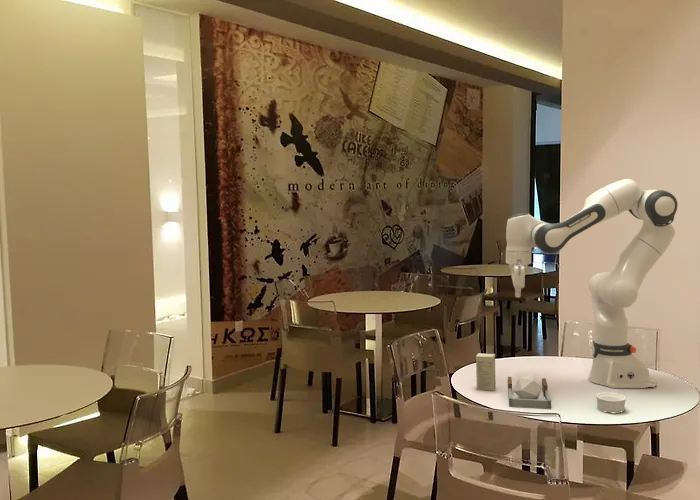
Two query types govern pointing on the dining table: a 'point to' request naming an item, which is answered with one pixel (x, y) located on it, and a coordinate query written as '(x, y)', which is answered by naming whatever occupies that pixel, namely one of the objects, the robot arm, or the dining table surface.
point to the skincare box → (485, 371)
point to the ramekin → (610, 402)
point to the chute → (544, 384)
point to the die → (527, 388)
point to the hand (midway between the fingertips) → (517, 296)
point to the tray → (529, 401)
